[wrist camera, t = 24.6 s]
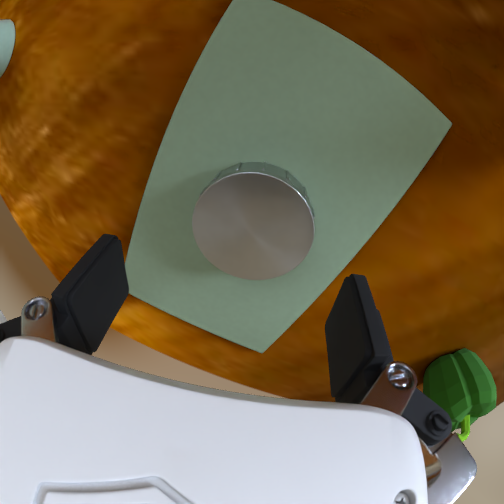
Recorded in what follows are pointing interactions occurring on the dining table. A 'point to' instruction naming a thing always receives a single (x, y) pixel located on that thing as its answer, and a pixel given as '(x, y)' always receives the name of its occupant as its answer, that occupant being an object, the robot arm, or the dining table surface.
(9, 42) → the cylinder
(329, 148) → the mat
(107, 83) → the dining table surface
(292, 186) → the lid
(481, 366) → the bell pepper
